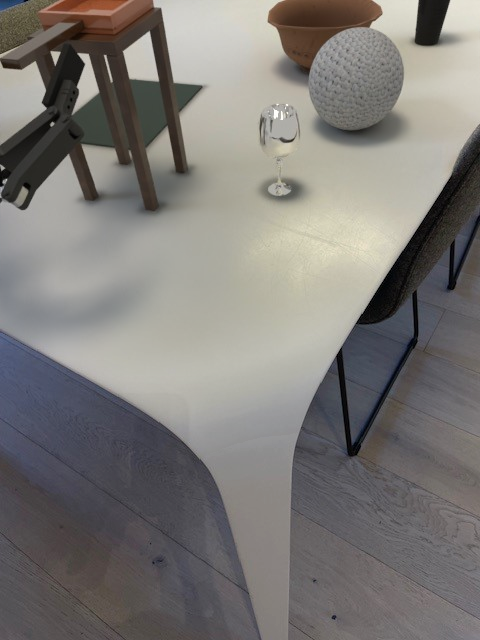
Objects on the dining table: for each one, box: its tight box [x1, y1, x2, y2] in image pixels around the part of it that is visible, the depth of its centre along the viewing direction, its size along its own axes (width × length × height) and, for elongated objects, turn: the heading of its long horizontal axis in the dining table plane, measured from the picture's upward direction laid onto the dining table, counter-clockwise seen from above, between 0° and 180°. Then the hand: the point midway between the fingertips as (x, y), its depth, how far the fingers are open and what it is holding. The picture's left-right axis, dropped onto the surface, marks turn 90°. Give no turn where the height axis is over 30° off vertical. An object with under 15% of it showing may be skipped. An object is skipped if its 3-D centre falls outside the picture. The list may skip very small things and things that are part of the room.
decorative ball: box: [308, 27, 405, 131], centre depth 80 cm, size 15×15×15 cm
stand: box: [26, 6, 189, 212], centre depth 69 cm, size 12×12×23 cm
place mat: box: [72, 78, 203, 151], centre depth 95 cm, size 20×26×1 cm
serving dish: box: [0, 0, 155, 71], centre depth 57 cm, size 10×22×2 cm, turn 160°
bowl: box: [267, 0, 384, 75], centre depth 98 cm, size 22×22×11 cm
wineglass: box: [257, 103, 301, 197], centre depth 69 cm, size 6×6×12 cm
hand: (19, 49), depth 51 cm, fingers open, 13 cm apart
